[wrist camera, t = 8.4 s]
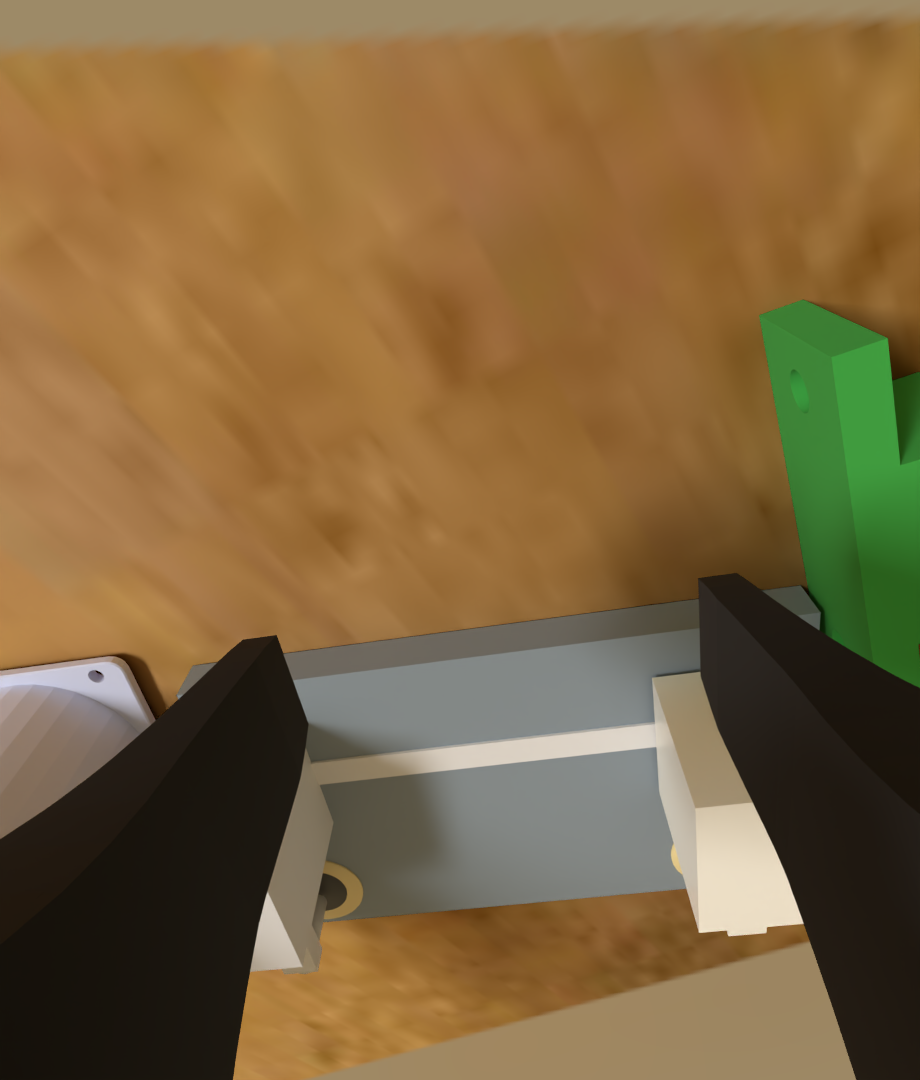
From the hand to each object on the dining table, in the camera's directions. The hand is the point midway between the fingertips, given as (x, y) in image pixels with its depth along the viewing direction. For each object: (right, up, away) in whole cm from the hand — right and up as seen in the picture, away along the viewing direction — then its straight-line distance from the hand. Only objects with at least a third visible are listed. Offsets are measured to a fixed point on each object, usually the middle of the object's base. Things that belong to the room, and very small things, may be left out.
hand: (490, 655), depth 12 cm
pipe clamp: (+11, +4, +9) cm, 15 cm away
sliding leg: (+8, -6, +12) cm, 15 cm away
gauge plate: (+1, -6, +14) cm, 15 cm away
